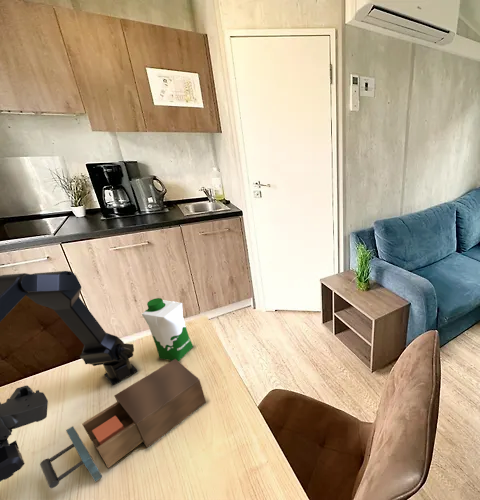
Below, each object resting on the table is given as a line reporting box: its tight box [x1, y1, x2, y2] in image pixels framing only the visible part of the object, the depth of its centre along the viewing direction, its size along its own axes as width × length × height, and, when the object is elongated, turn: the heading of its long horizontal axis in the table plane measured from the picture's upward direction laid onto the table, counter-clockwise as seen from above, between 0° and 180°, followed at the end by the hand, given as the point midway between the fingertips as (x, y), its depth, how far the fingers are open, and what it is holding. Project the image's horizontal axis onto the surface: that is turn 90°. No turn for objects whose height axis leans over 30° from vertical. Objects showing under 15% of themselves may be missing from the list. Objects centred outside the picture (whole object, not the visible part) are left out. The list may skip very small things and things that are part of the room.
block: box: [92, 415, 125, 445], centre depth 65 cm, size 4×4×4 cm
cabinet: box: [113, 359, 207, 448], centre depth 74 cm, size 15×13×9 cm
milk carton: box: [141, 297, 194, 362], centre depth 90 cm, size 9×9×20 cm
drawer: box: [39, 401, 143, 489], centre depth 64 cm, size 19×11×7 cm, turn 145°
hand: (8, 472), depth 52 cm, fingers closed
